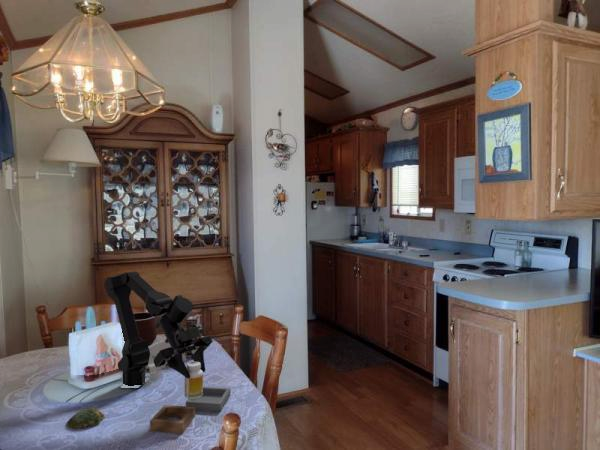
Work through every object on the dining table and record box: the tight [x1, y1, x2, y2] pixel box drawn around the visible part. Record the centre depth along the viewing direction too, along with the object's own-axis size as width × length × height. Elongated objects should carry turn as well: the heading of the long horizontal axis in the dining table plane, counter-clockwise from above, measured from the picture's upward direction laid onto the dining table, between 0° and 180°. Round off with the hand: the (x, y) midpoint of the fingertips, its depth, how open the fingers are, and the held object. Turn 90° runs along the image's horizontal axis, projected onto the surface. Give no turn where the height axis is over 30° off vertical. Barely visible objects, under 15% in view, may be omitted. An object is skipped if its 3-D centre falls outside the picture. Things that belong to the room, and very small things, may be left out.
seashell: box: [66, 407, 106, 430], centre depth 124 cm, size 10×4×10 cm
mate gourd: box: [133, 311, 158, 347], centre depth 173 cm, size 16×14×20 cm
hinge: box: [144, 340, 188, 373], centre depth 168 cm, size 17×5×10 cm, turn 139°
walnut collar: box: [149, 404, 196, 435], centre depth 122 cm, size 9×9×3 cm
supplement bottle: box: [184, 361, 204, 399], centre depth 128 cm, size 5×5×10 cm
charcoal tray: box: [185, 386, 231, 413], centre depth 136 cm, size 11×11×2 cm
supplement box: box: [185, 313, 203, 358], centre depth 178 cm, size 9×5×16 cm, turn 179°
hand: (196, 374), depth 127 cm, fingers closed on supplement bottle, 5 cm apart
